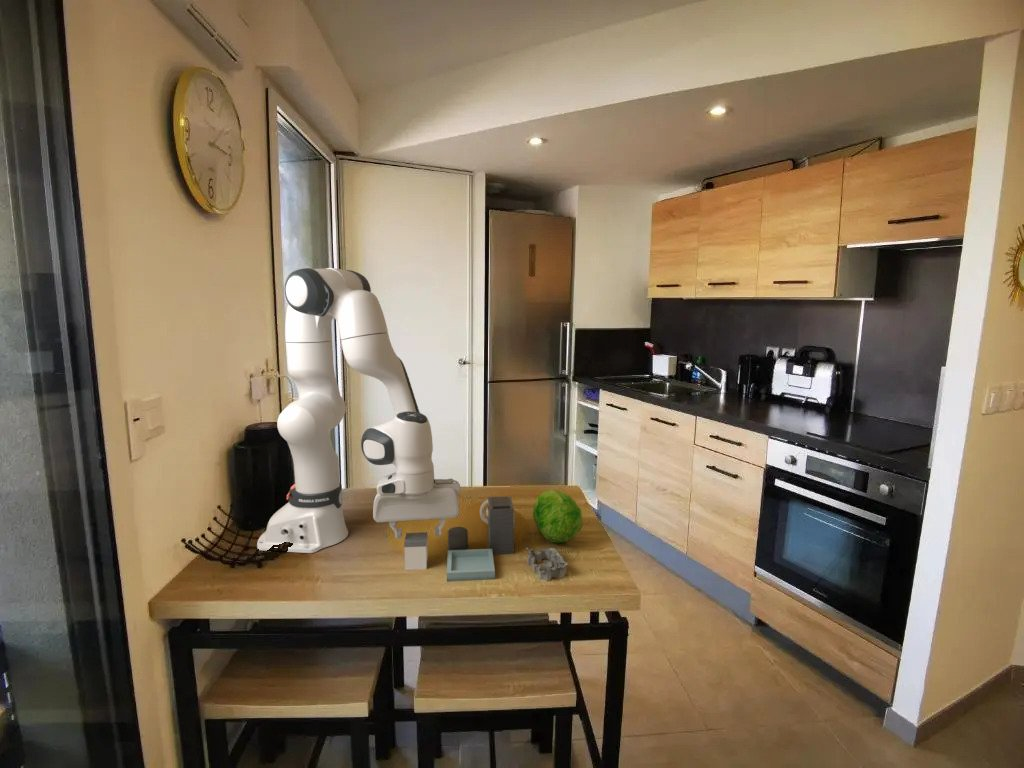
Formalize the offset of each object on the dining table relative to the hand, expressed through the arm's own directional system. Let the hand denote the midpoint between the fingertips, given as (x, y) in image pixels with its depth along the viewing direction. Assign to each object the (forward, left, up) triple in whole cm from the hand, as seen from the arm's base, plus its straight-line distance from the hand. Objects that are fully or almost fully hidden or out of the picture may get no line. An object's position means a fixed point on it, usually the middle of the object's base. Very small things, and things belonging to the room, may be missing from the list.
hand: (418, 535), depth 125 cm
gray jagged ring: (+30, -4, -8) cm, 32 cm away
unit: (+20, +8, -8) cm, 23 cm away
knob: (+9, +7, -8) cm, 14 cm away
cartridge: (-1, 0, -8) cm, 8 cm away
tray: (+12, -3, -8) cm, 15 cm away
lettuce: (+36, +14, -8) cm, 39 cm away
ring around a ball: (+19, +20, -8) cm, 29 cm away
